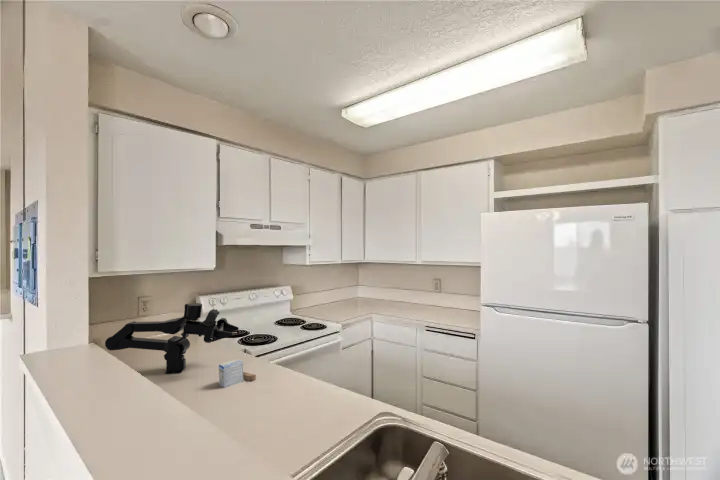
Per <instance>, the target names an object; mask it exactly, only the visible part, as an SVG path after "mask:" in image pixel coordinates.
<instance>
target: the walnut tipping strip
mask: <svg viewBox="0 0 720 480" xmlns="http://www.w3.org/2000/svg"><path fill="white" fill-rule="evenodd" d="M256 378H257V376H256V374H253V373H249V372H245V371H243V381H246V382H247V381H249V382H255V381H256V380H257V379H256Z"/></svg>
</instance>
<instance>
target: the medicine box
mask: <svg viewBox="0 0 720 480" xmlns="http://www.w3.org/2000/svg"><path fill="white" fill-rule="evenodd" d="M243 372H244V361H242V360H241V359H238V358H237V359H233V360H230V361H226V362H224V363H221V364H219V365H218V385H219V386H220V387H222V388H224V389H225V388H229V387H232V386H235V385H237V384H241V383H243V382H244V380H243Z"/></svg>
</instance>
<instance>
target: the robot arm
mask: <svg viewBox="0 0 720 480" xmlns="http://www.w3.org/2000/svg"><path fill="white" fill-rule="evenodd" d="M202 309H203V304H202V303H199V302H193V303H184V312H183V313H184V314H183V316H182V317H177V318H171V319H168V320H164V321H158V320H157V321H134V320H133V321H131V322H130V321H129V322H128V323H126V324H125V325H124V326H122V328H121V329H119V330H118V331H117V332H116V333H115V334H113V335H112V336H109V337H107V338H106V340H105V342H104V343H105V344H104V346H105V348H106V349H107V350H108V351H121V350H125V349H135V350H136V349H137V350H138V349H139V350H150V351H162V352H165V353H164V355H163V358H164V361H166V363H165V364H166V365H165V366H166V367H165V368H166V371H165V372H164V374H165V375H169V374H172V375H173V374H181V373H182V372H183V371H184V370H185V369H186V368H187V364H186V363H187V362H186V361H187V360H186V359H187V358H185V354H186V352H187V351H188V349H190V347H191V342H190V340H189V339H188V337H189V335H194V336H195V335H196V336H198V338H199V337H200V338H202V336H203V342H204V343H206V344H211V343H213V342H216V341H219V340H222V339H225V338H229V337H232V336H233V332H235V331H239V329H240V327H238V326H236V325H233V324H231V323H229V322H228V320H227V318H226V317H220V318H219V319H218V320H216V319H217V317H218V315H220V311H218V309H214V308H213V309H210V310H209V311H208V314H207V316H206V317H205V319H204V320H203V321H198V320H199V319H200V318H201V316H202ZM147 332H148V333H150V332H151V333H152V332H154V333H155V332H160V333H163V334H166V335H167V334H168V335H172V337H170V338H168V339H160V338H159V339H158V338H146V337H137V336H136V337H135V336H133V334H134V333H147ZM179 332H181V333H180V335H181V336H178V335H176V334H178V333H179Z"/></svg>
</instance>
